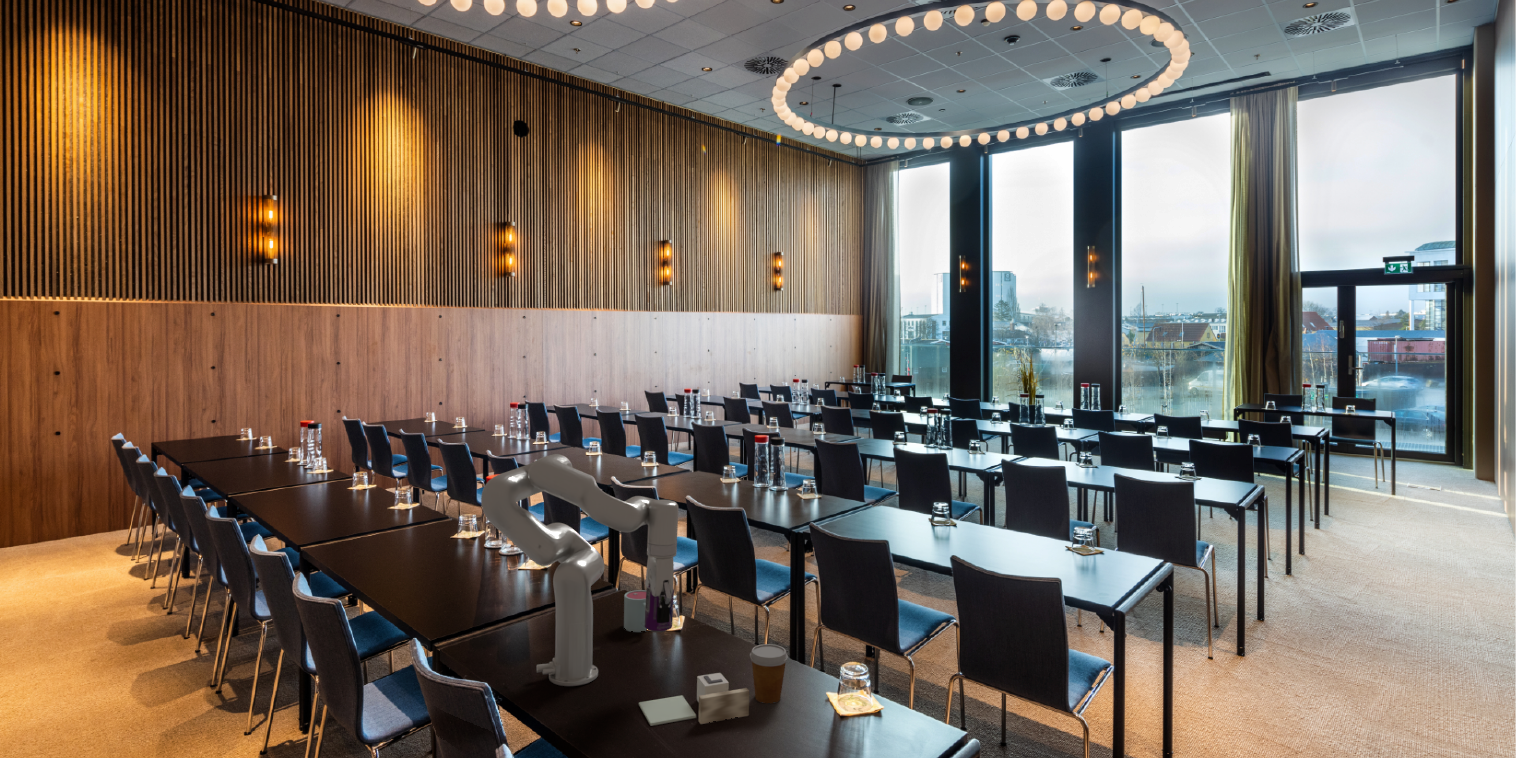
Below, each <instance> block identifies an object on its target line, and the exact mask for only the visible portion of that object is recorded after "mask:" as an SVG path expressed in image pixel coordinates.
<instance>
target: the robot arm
mask: <svg viewBox="0 0 1516 758" xmlns="http://www.w3.org/2000/svg"><path fill="white" fill-rule="evenodd" d="M543 492H545V493H547V494H549V495H551V496H554V497H556V498H559V499H561V500H563V501H566V502H568V503H570V504H572V505H574V506H577V507H579V509H580V510H581V511H582V512H584V513H585V514H586V515H587V516H588V517H589V518H591V519H592V520H594V521H595V522H597V523H599V524H601V525H604V526H606V527H608V528H611V529H613V530H615V531H618V532H622V533H633V532H635V531H637V530H638V529H639V528H640V527H642V526H645V525H647V542H646V543H647V544H646V547H647V548H646V556H647V561H646V562H647V563H646V571H645V573H646V574H645V583H644V584H645V587H646V589H647V587H648V583H649V584H650V585H651V586H650V588H651V593H652V595H653V596H654V597H657V596H658V604H659V607H657V623H665V622H669V618H670V601H671V595H672V593H673V589H674V579H675V578H674V573H675V571H674V570H675V569H674V557H676V556H677V550H678V548H677V545H678V527H679V524H678V523H679V504H678V503H677V502H676V501H674V500H669V499H654V498H650V497H647V496H643V495H642V496H641V495H635V496H632V497H630V498H628V499H626V500H625V501H623V500H621V499H619V498H616V497H614V496H612V495H610V494H608V493H607V492H604V491H603V490H602V489H601V488H600V487H599V486H598V484H597V481H596V478H595V477H594V476H593V475H591V474H589V473H586V472H584V471H582V470H579V469H577V468H574V466H573V464H572V462H571V460H570V459H569V458H568V457H566V456H564V455H563V454H560V453H554V454H549V455H546V456H543V457H540V458H538V459H537V460H535V461H534V462H530V463H529V464H525V465H523V466H520V467H517V468H515V469H511V470H509V471H508V470H507V471H506V472H502V473H500V474H497V475H495V476H493V477H492V478H490V479H489V480H488V481H487V482H486V483H485V484H484V487H483V489H482V491H481V498H480V500H481V501H480V502H481V503H480V504H481V508H482V512H483V514H484V516H485V517H486V519H487V521H488V522H489V523H490V524H491V526H492V525H493V527H495V528H496V529H497V530H498V531H499V532H500V533H502V534H503V535H504V536H505V537H506V538H507V539H509V540H510V541H511V543H513V544H514V545H515V546H516V547H517V548H518V549H519V550H520V551H521V552H522V553H524V554H525V555H526V556H527V557H528V558H529V559H531V560H532V562H533V563H535V564H536V565H539V566H541V567H548V566H550V565H553V564H555V562H558V563H560V564H559V565H558V566H557V567H556V569H555V571H554V574H553V578H552V583H553V584H552V585H553V586H552V587H553V591H554V600H555V645H554V646H555V653H554V654H555V655H554V657H553V658H552V661H548V663H542V664H541V663H540V664H539V663H538V664H536V667H535V669H536V673H542V676H543V675H548V679H549V682H551V683H553V684H554V685H558V686H561V687H563V686H564V687H576V686H583V685H586V684H589V683H590V682H592V681H594V680H596V679H597V677H598V676H599V668H598V667H597V666H596V665H594V664H593V654H594V653H593V651H594V649H593V644H594V643H593V640H594V638H593V637H594V636H593V635H594V633H593V632H594V614H593V613H594V605H593V604H594V603H593V597H592V592H591V590H592V589H591V588H592V587H591V586H592V585H594V584H595V583H596V582H597V581H598V580H599V579H600V578H601V577H602V575H603V573H604V571H605V561H604V558H603V557H602V555H601V553H600V552H599V551H598V550H597V549H596V548H595V547H594V546H593V545H592V544H590V543H589V542H588V541H587V540H586V539H585V538H584V537H583V536H581V534H580V533H578V532H577V531H576V530H575V529H573V527H571V526H569V525H568V524H565V523H562V522H552V523H550V524H547V525H546V524H544V523H543V522H542V521H540V519H538V518H537V517H536V516H535V515H534V514H533V513H531V512H530V511H529V510H527V509H525V508H524V507H522V506H520V505H519V504H518V502H520V501H522V500H525V499H527V498H529V497H531V496H534V495H537V494H539V493H543ZM661 592H664V594H663V595H660V594H661ZM661 597H665V598H664V599H663V600H662V601H661Z"/></svg>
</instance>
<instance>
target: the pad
mask: <svg viewBox="0 0 1516 758" xmlns="http://www.w3.org/2000/svg"><path fill="white" fill-rule="evenodd" d="M638 706H639V707H640V709H641V711H642V713H643V715H644V717H645V719H646V721H647V722H648V724H649V725H650V726H658V725H663V724H664V725H665V724H668V723H673V722H674V723H675V722H680V721H685V720H692V719H697V714H696V713H695V711H694V710H693V709H692V707H691V705H690V704H689V703H688V701H687V700H686V699H685V696H684V695H676V696H671V697H665V698H658V699H653V700H651V699H650V700H646V701H640V702H638Z"/></svg>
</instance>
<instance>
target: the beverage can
mask: <svg viewBox="0 0 1516 758" xmlns="http://www.w3.org/2000/svg"><path fill="white" fill-rule="evenodd" d="M650 586H651V585H650V584H649V583H648V587H647V588H646V589H645V590H646V606H645V628H646V629H648V630H649V631H650V632H651V633H665V632H666V631H668V630H670V629H672V628H673V619H674V618H673V617H674V615H673V614H674V598H675V597H674V595H675V589H674V588H673V593H672V595H671V601H670V618H669V622H665V623H657V607H659V604H658V596H657V597H654V596H653V595H652V593H651V588H650ZM663 594H664V592H661V594H660V595H663ZM664 598H665V597H661V601H662V600H663V599H664Z"/></svg>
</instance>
